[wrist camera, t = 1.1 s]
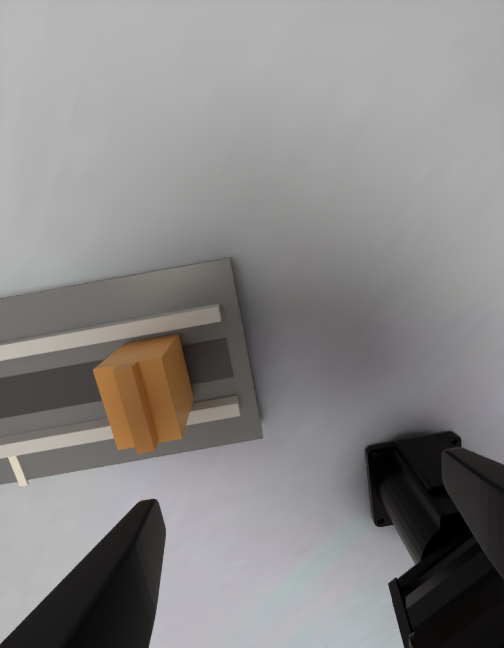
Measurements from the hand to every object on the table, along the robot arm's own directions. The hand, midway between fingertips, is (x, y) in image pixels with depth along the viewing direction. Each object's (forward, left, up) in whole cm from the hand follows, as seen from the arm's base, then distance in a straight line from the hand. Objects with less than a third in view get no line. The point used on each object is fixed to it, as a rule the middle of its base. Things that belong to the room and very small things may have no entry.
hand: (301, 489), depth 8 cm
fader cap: (0, +6, -11) cm, 12 cm away
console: (0, +12, -13) cm, 18 cm away
